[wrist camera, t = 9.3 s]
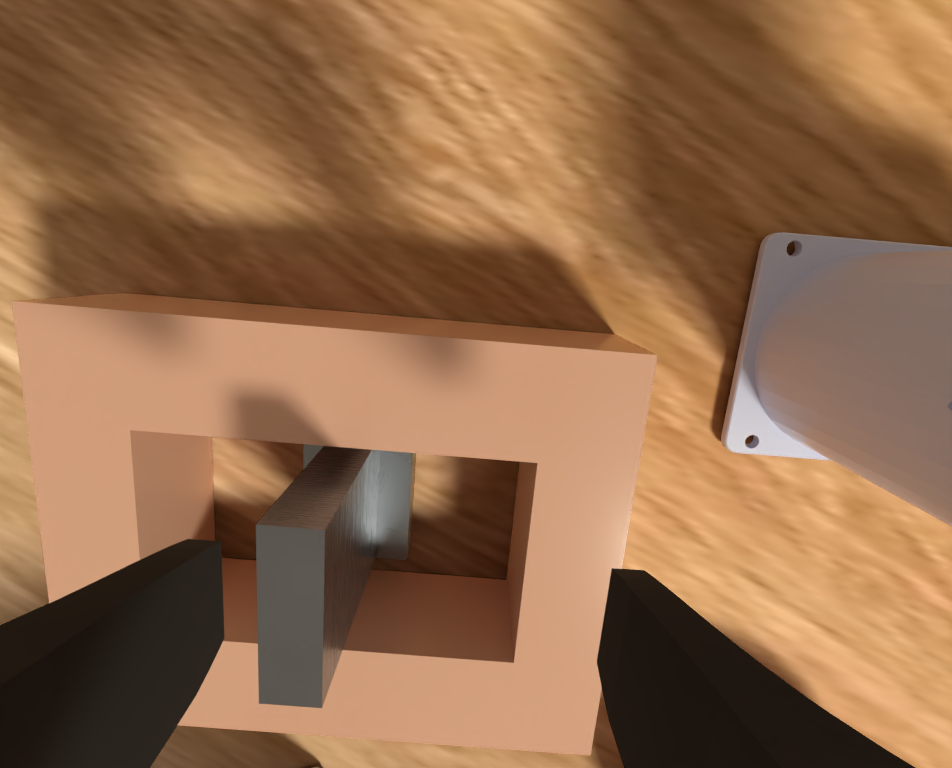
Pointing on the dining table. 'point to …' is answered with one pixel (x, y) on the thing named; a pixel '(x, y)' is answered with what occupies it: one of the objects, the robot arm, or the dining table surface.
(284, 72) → the dining table surface
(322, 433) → the holder block
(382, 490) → the brushed metal prism
